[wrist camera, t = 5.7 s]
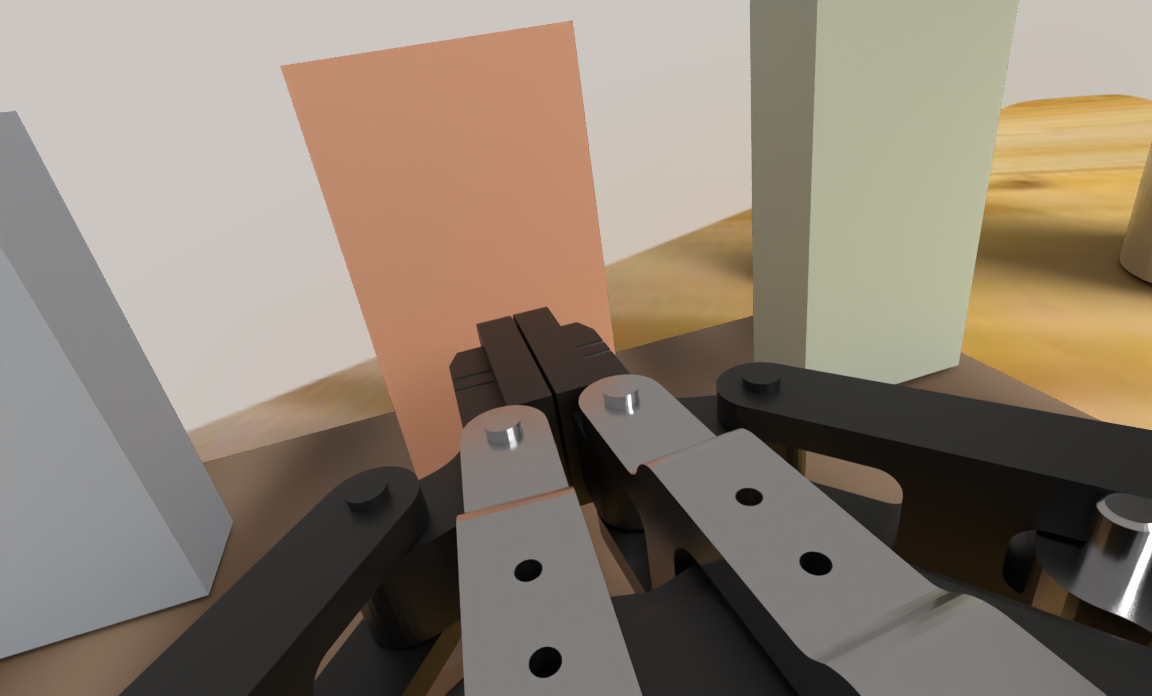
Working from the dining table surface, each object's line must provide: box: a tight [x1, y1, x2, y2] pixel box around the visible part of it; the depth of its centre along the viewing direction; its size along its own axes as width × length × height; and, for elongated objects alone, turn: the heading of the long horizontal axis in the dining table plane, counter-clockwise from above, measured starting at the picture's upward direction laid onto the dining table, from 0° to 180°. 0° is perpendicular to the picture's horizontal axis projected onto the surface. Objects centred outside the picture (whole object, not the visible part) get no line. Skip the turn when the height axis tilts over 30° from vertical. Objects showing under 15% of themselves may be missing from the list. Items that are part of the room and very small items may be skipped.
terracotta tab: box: [281, 21, 616, 480], centre depth 16 cm, size 6×3×12 cm, turn 106°
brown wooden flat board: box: [0, 316, 1100, 696], centre depth 20 cm, size 32×12×2 cm, turn 106°
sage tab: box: [750, 0, 1019, 384], centre depth 19 cm, size 6×3×12 cm, turn 106°
